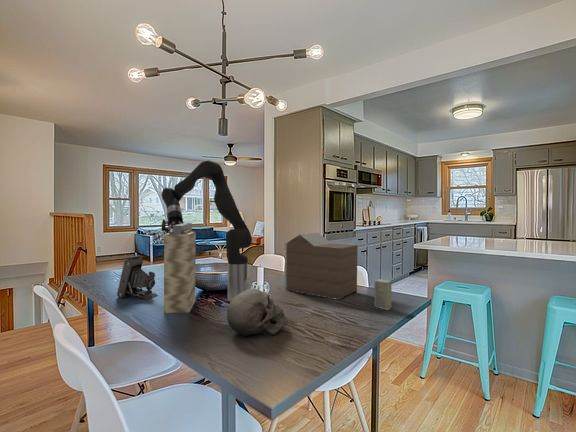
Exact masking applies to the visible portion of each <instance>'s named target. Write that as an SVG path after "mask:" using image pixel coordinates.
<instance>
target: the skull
mask: <svg viewBox="0 0 576 432" xmlns="http://www.w3.org/2000/svg"><path fill="white" fill-rule="evenodd" d="M226 314H227V315H226V317H227V319H226V320H227V322H228V325H229V326H230V328H231V329H232V330H233V331H234V332H235V333H237V334H239V335H241V336H243V337H248V336H251V335H259V334H260V330H264V331H265V332H266V333H268V334H269V335H270V336H274V335H277V333H278V332H279V331H280V330H281V329H283V327H284V326H286V325H287V324H288V317H286V315H285V313H284V309H283V308H282V307H280V305H278V304H277V305H275V302H274V298H270V295H269V294H268V293H267V292H266V291H262V290H260V289H259V288H256V287H255V288H254V287H252V288H249V289H248V290H245V291H243V292H242V293H240V294H238V295H237V296H235V297H234V298H233V299H232V300H231V301H229V304H228V307H227V313H226Z"/></svg>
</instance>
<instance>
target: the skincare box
mask: <svg viewBox="0 0 576 432" xmlns="http://www.w3.org/2000/svg"><path fill="white" fill-rule="evenodd" d="M373 285H374V307H375V306H377V307H382V308H387V309H388V308H390V307H392V306H393V305H392V300H393V299H392V280H389V279H388V280H386V279H381V278H378V279H376V280H374V284H373Z"/></svg>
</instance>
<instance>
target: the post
mask: <svg viewBox="0 0 576 432" xmlns="http://www.w3.org/2000/svg"><path fill="white" fill-rule="evenodd" d="M192 229H193V228H192ZM192 229H189V230H187V231H184V232H183V234H173V230H170V232H169V233H167V234H166V233H164V234H163V239H164V240H163V242H164V243H163V245H164V247H163V251H164V252H163V314H182V313H184V314H185V313H190V312H191V310H192V309H193V307H194V304H195V303H196V256H197V255H196V252H197V250H196V248H197V247H196V239H197V238H196V237H197V236H196V235H197V234H196V231H193V230H192Z"/></svg>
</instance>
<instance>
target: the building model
mask: <svg viewBox="0 0 576 432" xmlns="http://www.w3.org/2000/svg"><path fill="white" fill-rule="evenodd" d="M283 244H284V246H285V248H284V249H285V271H284V273H285V275H284V276H285V277H284V278H285V282H284V284H285V285H284V286H285V287H284V290H285V289H286V290H285V291H289V290H292V291H291V292H294V291H298V292H297V293H299V292H303V293H302V294H304V293H309V294H308V295H310V294H314V295H313V296H315V295H320V296H326V297H330V298H336V299H342V298H344V297H346V296H348V295H350V294H352V293H356V292H355V291H357V292H358V248H359V247H358V244H345V243H336V242H335V243H333V242H331V241H329V240H328V239H327V238H326V237H324V236H323V235H321V234H320V233H319V232H313V233H300V234H298V235H297V236H295V237H293V238H292V239H291V240H289V241H288V242H285V243H283ZM320 296H319V297H320ZM330 298H329V299H330ZM336 299H335V300H336Z"/></svg>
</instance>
